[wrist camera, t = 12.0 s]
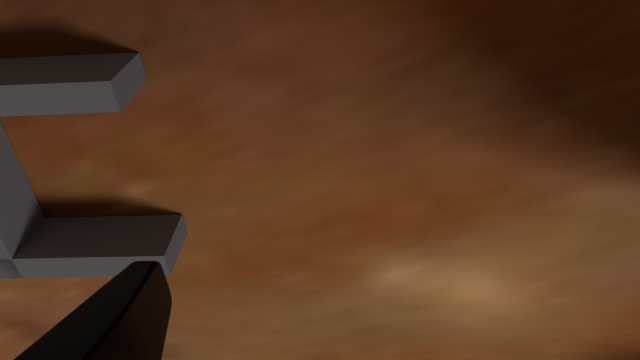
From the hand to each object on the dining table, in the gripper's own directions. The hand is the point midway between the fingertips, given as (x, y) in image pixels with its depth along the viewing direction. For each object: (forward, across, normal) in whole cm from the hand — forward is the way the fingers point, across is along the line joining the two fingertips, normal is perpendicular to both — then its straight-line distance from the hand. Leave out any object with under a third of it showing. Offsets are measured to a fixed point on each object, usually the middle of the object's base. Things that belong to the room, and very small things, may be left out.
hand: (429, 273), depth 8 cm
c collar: (+13, +13, +5) cm, 19 cm away
